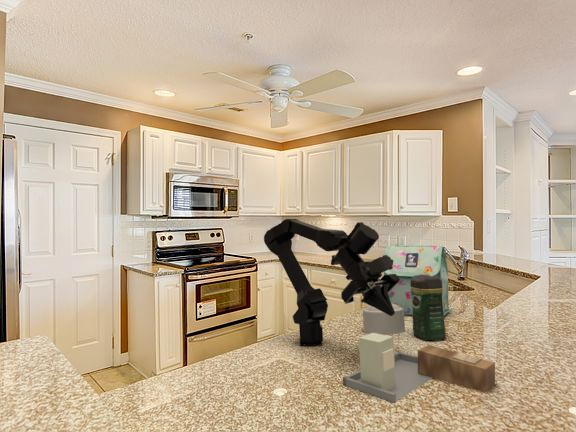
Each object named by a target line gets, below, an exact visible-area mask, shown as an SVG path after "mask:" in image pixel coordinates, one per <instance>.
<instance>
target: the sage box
mask: <svg viewBox="0 0 576 432" xmlns="http://www.w3.org/2000/svg"><path fill="white" fill-rule="evenodd" d="M358 347H359V348H358V349H359V350H358V351H359V366H360V367H359V368H360V369H359V370H360V372H361V382H363V383H366V384H369V385H372V386H375V387H378V388H381V389H384V390H387V391H389V390H391V389H393V388H394V387H396V376H395V359H394V354H395V345H394V336H392V335H382V334H377V333H370V334H365V335H363V336H360V337H358Z"/></svg>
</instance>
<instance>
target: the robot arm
mask: <svg viewBox="0 0 576 432" xmlns="http://www.w3.org/2000/svg"><path fill="white" fill-rule="evenodd" d="M296 236H300V237H302V238H304V239H308V240H311V241H313V242H314V243H315V244H316V245H317V247H319V248H320V249H321V250H323V251H325V252H336V254H332V255H331V260H330V266H336V265H340V267H341V268H342V270H343V271H344V272H345V273H346V276H345V279H346V280H347V281H350V282H349V283H348V284H347V285H346V286H345V288H344V289H342V291H341V294H340V296H341V300H342V301H343V302H344V304H345V305H347V304H350V303H353V302H354V300H355V299H354V296H355V295H359V294H362V295H361V297H362V299H361V300H360V302H361V303H364V304H367V306H368V305H370V306H372V307H375V308H376V309H378V310H380V311H382V312H384V313H386V314H388V315H390V316H393V315H394V314H395V311H394V309H393V306H392V304H391V301H390V299H389V296H388V292H389V291H390V290H391V289H392V288H393V287H394V286H395V285H396V284H397V283H398V282H399V281H400V279H399V277H398V276H397V275H396V274H386V275H384V274H382V273H384V271H387V270H391V269H393V267H392V266H393V260H392V259H391V258H390V257H388V256H387V255H385V254H384V255H382V256H379V257H377V258H374V259H373V260H372V261H371V260H370V261H369V260H368V261H365V259H363V258H362V256H361V255H367V253H368V252H369V251H370V250H371V249H372V247H373V246H374V245H375V243H376V242H377V241H378V240H379V239H380V236H379V232H377V230H376V229H373V228H372V227H371V226H369V225H366V224H365V223H364V222H363V221H362V222H361V221H358V222H357V223H356V224H355V225H354V227H353V229H352V230H351V232H350V233H349V234H348V233H347V232H345V231H344V230H343V229H342V230H341V229H340V230H339V229H330V228H329V229H328V228H321V227H319V226H317V225H314V224H309V223H307V222H305V221H301V220H299V219H298V218H285V219H283V221H281V222H280V223H278V224H276V225H274V226H272V227H271V228H270V229H268V230H267V231H265V234H264V235H263V242H264V244H265V246H266V248H267V249H268V251H270V252H271V253H272V254H273V255H275V256H277V257H278V259H279V261H280V263H281V266H282V267H283V270H284V272H285V273H286V275H287V277H288V279H289V281H290V283H291V284H292V287H293V289H294V290H295V292H296V306H297V310H296V311H295V312H294V314H293V315H292V320H293V323H294V324H297V325H299V328H298V329H299V346H300V347H303V346H304V347H305V346H322V345H323V343H322V342H323V341H324V332H323V330H324V329H323V325H322V324H321V322H322V321H325V319H326V315H327V312H328V307H329V303H328V302H327V300H328V299H327V298H326V296H325V294H324V293H323V290H322V289H321V288H320V287H319V288H314V287H313V286H312V285H311V283H310V281H309V279H308V277H307V276H306V274H305V272H304V271H303V268H302V267H301V264H300V263H299V261H298V258H297V257H296V255H295V254H294V252H293V249H292V248H293V247H292V245H293V240H292V239H294V238H295V237H296Z"/></svg>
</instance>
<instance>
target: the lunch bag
mask: <svg viewBox="0 0 576 432" xmlns="http://www.w3.org/2000/svg"><path fill="white" fill-rule="evenodd" d="M384 255H387V256H388V257H390V258H391V259H392V260H393V266H392V267H393V269H391V270H387V271H384V272H383V276H384V275H386V274H396V275H397V276H398V277H399V279H400V281H399V282H398V283H397V284H396V285H395V286H394V287H393V288H392V289H391V290H390V291H389V292H388V296H389V299H390V301H391V303H392V304H396V305H398V306H399V307H401V308H403V309H404V316H413V307H412V293H411V288H410V287H411V286H410V282H411V278H412V277H413V276H415V275H428V276H433V277H438V278H439V279H441V281H442V288H443V292H442V304H443V314H444V317H445V315H446V314H447V313H451V310H450V307H449V273H448V272H449V270H448V261H447V256H446V251H445V247H444V245H418V244H416V245H399V244H395V245H391V246H389V245H387V246H386V249H385V250H384Z"/></svg>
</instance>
